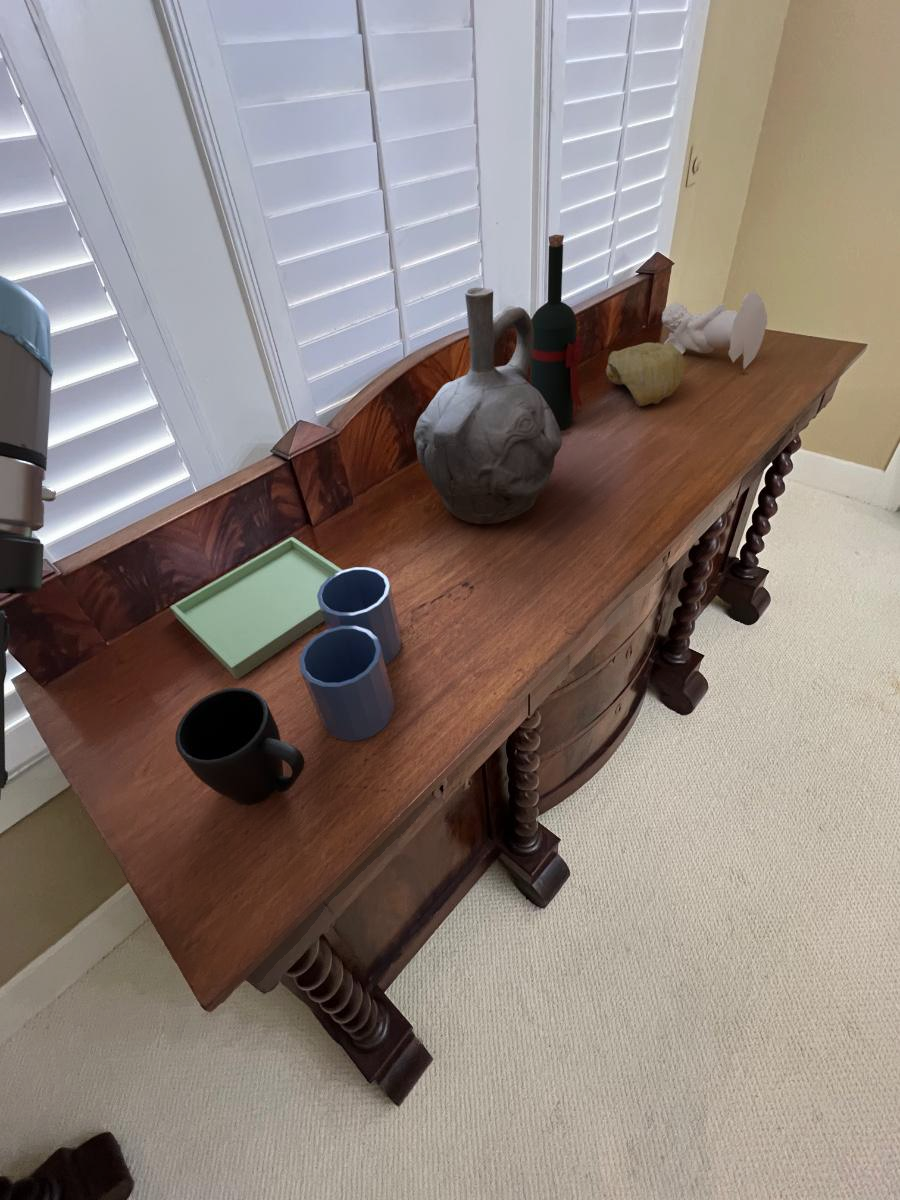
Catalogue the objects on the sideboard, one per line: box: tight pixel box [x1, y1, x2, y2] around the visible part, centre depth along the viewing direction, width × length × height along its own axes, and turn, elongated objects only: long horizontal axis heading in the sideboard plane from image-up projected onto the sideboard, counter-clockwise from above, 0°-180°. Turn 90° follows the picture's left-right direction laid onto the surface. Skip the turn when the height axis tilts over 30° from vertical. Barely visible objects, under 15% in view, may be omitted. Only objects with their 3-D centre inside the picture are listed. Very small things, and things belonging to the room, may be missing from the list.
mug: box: [174, 687, 306, 806], centre depth 54 cm, size 8×12×10 cm
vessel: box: [413, 286, 563, 525], centre depth 82 cm, size 24×22×30 cm
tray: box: [169, 536, 343, 680], centre depth 77 cm, size 19×16×2 cm
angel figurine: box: [661, 289, 768, 370], centre depth 120 cm, size 14×20×12 cm
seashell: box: [605, 342, 685, 407], centre depth 110 cm, size 17×11×15 cm
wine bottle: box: [529, 234, 584, 432], centre depth 98 cm, size 8×10×30 cm
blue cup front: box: [298, 626, 395, 742], centre depth 60 cm, size 8×8×9 cm
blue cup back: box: [317, 566, 402, 666], centre depth 67 cm, size 8×8×9 cm
